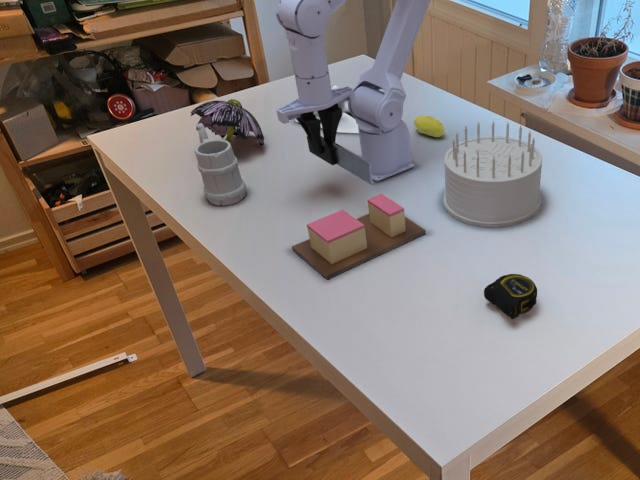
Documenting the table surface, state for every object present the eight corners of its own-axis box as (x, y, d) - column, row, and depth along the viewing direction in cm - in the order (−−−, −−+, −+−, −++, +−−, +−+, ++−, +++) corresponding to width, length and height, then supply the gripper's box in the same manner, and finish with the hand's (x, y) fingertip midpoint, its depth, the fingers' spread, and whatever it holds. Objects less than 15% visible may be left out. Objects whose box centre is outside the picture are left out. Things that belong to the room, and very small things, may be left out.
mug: (213, 211, 119) (194, 149, 111) (194, 185, 127) (175, 125, 118) (253, 198, 122) (237, 137, 114) (232, 174, 130) (216, 115, 121)
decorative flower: (277, 101, 131) (202, 96, 122) (280, 161, 135) (207, 161, 126) (251, 100, 142) (180, 96, 133) (254, 156, 146) (185, 155, 137)
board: (388, 209, 118) (388, 205, 118) (425, 233, 112) (425, 229, 112) (292, 250, 109) (291, 246, 109) (327, 279, 103) (326, 275, 103)
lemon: (435, 142, 137) (434, 125, 135) (409, 131, 142) (408, 114, 139) (449, 136, 140) (448, 118, 137) (423, 125, 144) (422, 108, 141)
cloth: (278, 113, 150) (272, 87, 146) (341, 90, 160) (338, 64, 155) (337, 142, 139) (332, 114, 134) (401, 115, 148) (399, 88, 144)
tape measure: (481, 302, 98) (481, 282, 95) (516, 286, 101) (518, 266, 98) (509, 326, 94) (510, 306, 91) (545, 308, 97) (547, 288, 94)
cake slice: (384, 216, 115) (381, 193, 112) (405, 231, 111) (404, 208, 108) (370, 222, 114) (367, 199, 111) (391, 237, 110) (389, 214, 107)
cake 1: (346, 232, 112) (342, 209, 108) (367, 248, 108) (364, 224, 105) (311, 247, 108) (306, 224, 105) (331, 264, 105) (327, 240, 102)
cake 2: (553, 187, 122) (560, 119, 113) (520, 236, 111) (525, 163, 102) (467, 170, 128) (466, 103, 119) (426, 214, 117) (423, 144, 107)
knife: (318, 148, 122) (314, 127, 119) (377, 182, 111) (374, 160, 108) (309, 151, 121) (305, 131, 118) (367, 186, 110) (364, 164, 107)
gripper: (335, 56, 114) (345, 130, 123) (261, 77, 107) (278, 154, 117) (357, 66, 110) (366, 142, 119) (282, 89, 103) (298, 168, 113)
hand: (324, 149), depth 118 cm, fingers closed on knife, 2 cm apart
